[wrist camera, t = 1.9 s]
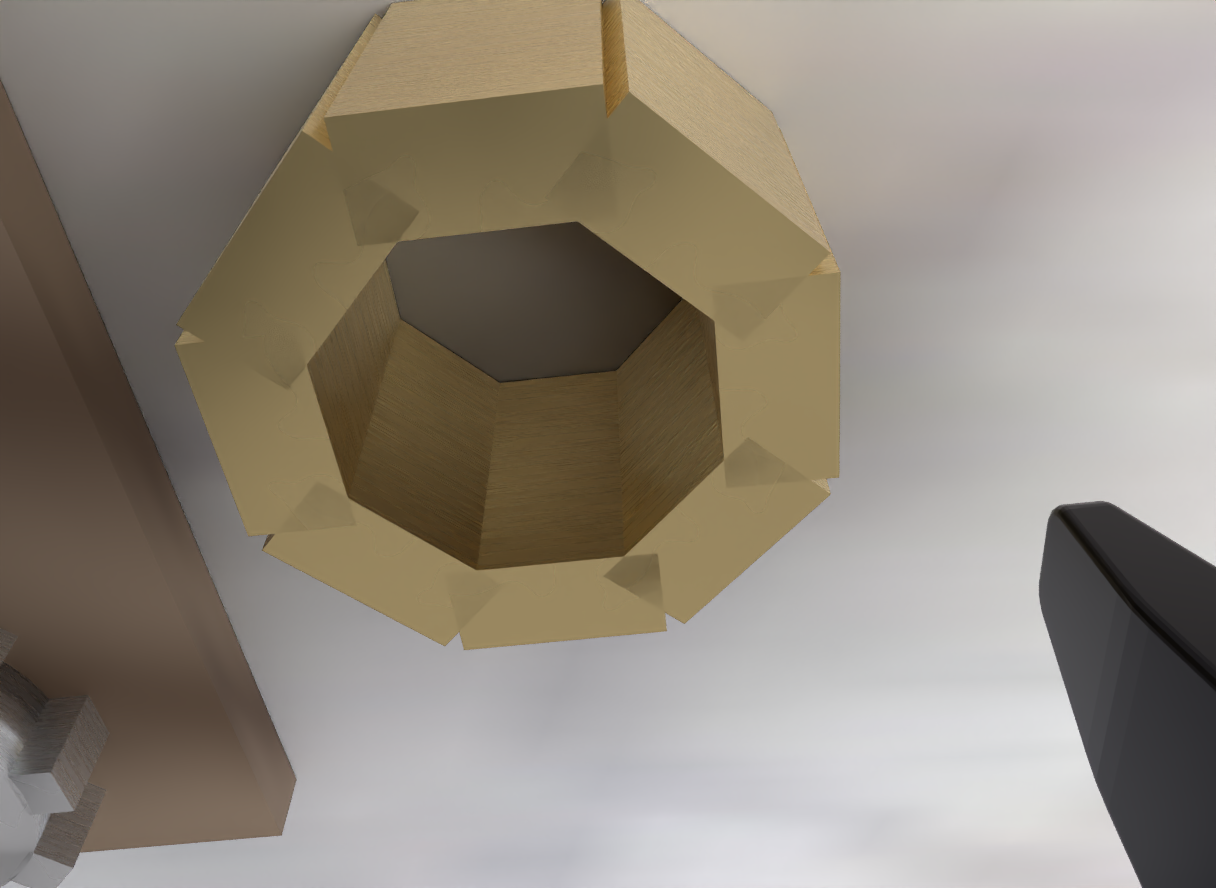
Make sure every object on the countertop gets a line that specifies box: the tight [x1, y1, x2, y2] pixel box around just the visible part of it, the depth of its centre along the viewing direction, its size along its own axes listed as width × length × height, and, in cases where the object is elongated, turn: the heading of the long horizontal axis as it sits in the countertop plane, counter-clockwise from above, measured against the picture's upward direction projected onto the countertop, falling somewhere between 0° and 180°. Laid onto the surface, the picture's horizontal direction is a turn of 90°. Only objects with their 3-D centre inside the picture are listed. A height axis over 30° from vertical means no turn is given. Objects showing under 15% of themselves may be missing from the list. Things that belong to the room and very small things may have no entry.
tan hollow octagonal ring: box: [175, 0, 840, 650], centre depth 13 cm, size 6×6×4 cm
